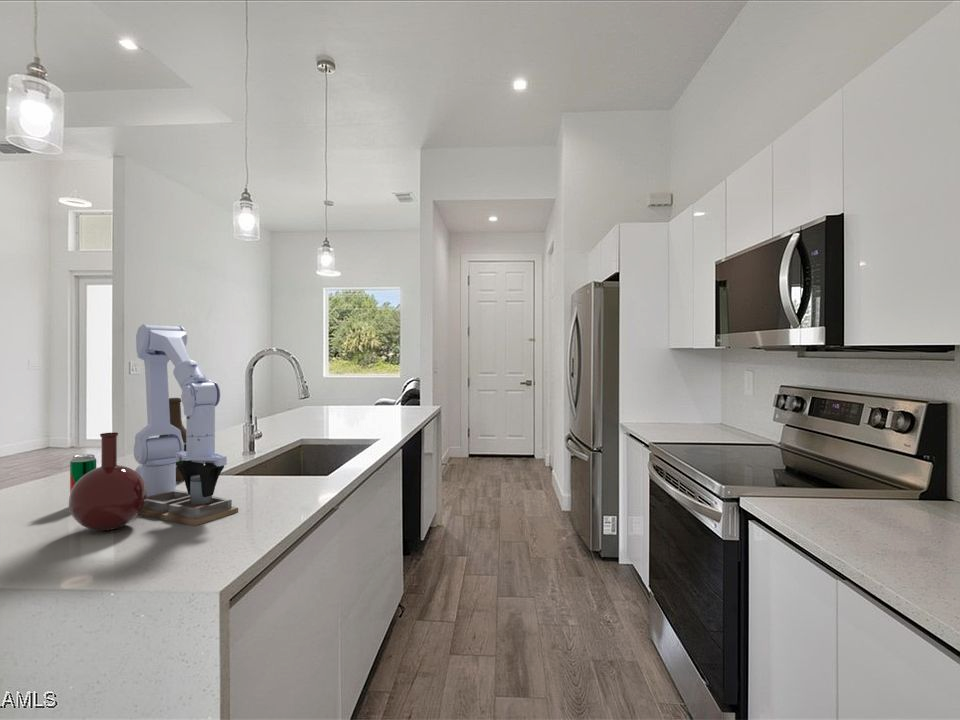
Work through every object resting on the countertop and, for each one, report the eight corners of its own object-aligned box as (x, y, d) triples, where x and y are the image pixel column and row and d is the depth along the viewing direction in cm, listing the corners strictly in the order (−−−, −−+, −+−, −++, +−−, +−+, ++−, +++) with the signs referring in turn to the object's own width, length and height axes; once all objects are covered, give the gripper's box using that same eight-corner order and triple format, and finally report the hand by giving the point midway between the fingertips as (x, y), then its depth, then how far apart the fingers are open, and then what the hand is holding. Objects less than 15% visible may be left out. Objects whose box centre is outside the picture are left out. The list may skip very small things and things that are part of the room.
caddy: (130, 512, 117) (130, 499, 117) (176, 500, 127) (176, 488, 127) (194, 525, 108) (194, 511, 108) (238, 511, 118) (238, 499, 118)
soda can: (81, 509, 120) (81, 458, 120) (64, 507, 121) (64, 457, 121) (101, 503, 125) (101, 454, 125) (84, 501, 126) (84, 453, 126)
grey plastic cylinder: (185, 503, 114) (185, 476, 114) (203, 498, 118) (203, 472, 118) (198, 505, 112) (199, 478, 113) (216, 500, 116) (217, 474, 117)
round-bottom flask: (51, 541, 99) (51, 438, 99) (97, 519, 112) (97, 429, 112) (122, 539, 100) (122, 438, 100) (159, 518, 113) (159, 428, 113)
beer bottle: (151, 482, 145) (151, 398, 145) (172, 476, 153) (172, 396, 153) (175, 483, 144) (175, 399, 144) (195, 477, 152) (195, 397, 151)
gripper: (162, 435, 115) (162, 495, 115) (206, 439, 109) (206, 503, 109) (192, 431, 121) (191, 487, 121) (234, 435, 115) (234, 495, 115)
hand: (200, 494), depth 115 cm, fingers closed on grey plastic cylinder, 4 cm apart
